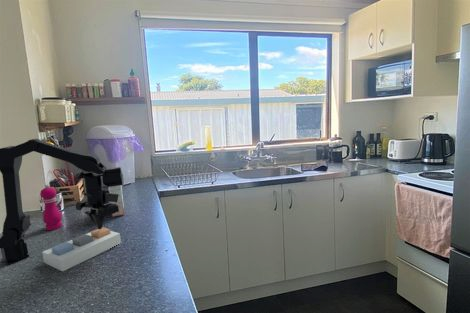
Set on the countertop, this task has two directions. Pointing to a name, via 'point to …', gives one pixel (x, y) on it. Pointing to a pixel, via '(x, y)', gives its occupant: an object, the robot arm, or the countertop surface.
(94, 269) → the countertop surface
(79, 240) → the key charcoal
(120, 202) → the cracker box
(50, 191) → the pepper mill
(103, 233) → the tan square block
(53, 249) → the key slate
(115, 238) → the keypad
